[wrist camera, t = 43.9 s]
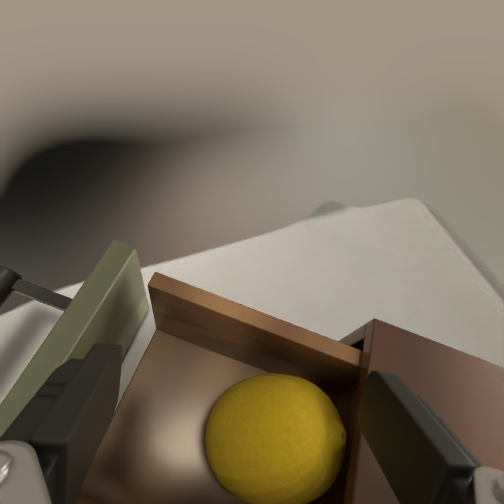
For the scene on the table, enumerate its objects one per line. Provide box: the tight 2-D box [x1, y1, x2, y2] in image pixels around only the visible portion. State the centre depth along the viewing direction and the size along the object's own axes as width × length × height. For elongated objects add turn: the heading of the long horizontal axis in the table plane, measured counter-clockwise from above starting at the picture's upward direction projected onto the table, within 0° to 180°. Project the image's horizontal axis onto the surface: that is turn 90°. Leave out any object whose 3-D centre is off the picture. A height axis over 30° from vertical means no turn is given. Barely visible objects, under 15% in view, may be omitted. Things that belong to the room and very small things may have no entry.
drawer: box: [0, 240, 363, 504], centre depth 16 cm, size 21×12×8 cm, turn 72°
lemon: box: [205, 373, 346, 504], centre depth 16 cm, size 6×6×8 cm
